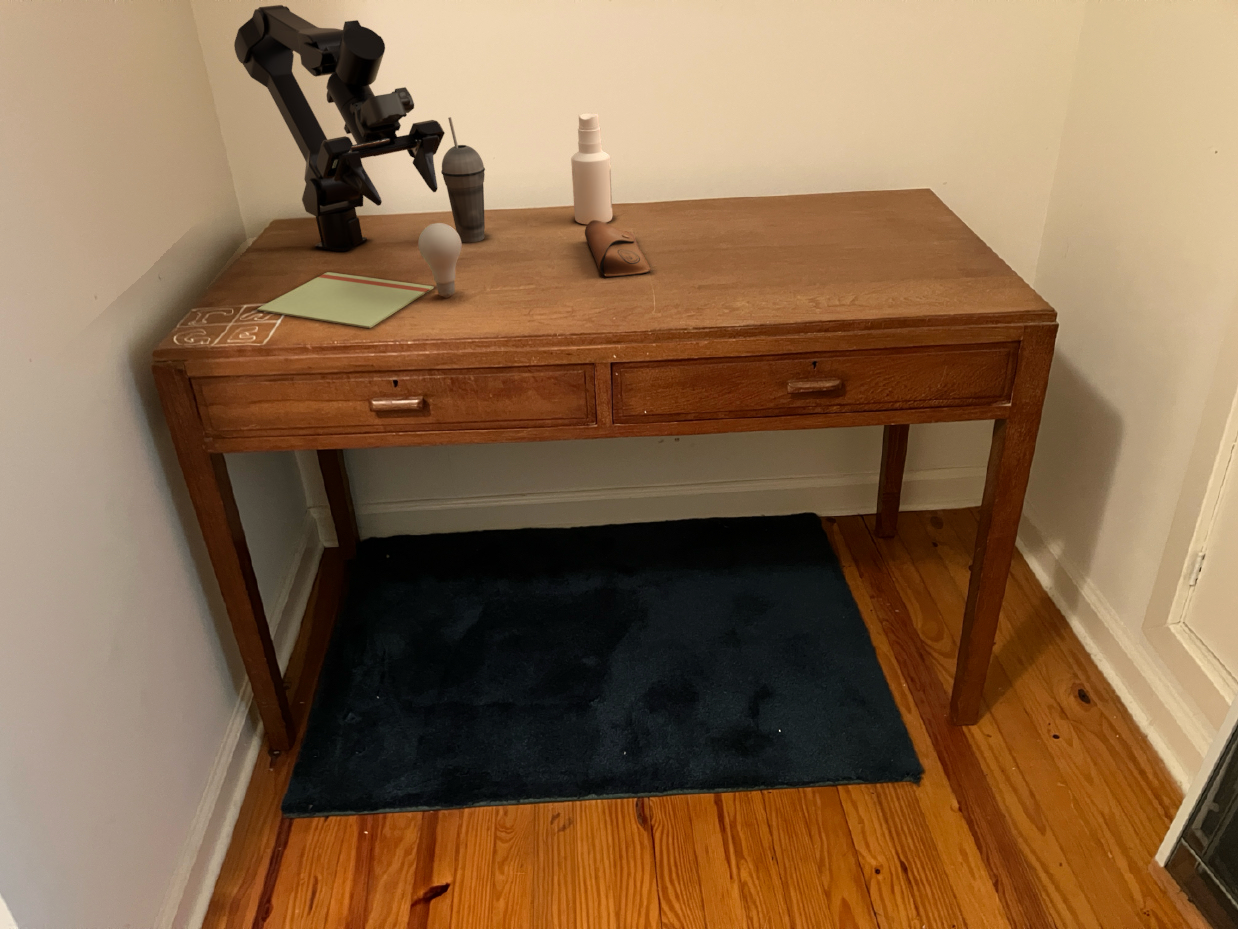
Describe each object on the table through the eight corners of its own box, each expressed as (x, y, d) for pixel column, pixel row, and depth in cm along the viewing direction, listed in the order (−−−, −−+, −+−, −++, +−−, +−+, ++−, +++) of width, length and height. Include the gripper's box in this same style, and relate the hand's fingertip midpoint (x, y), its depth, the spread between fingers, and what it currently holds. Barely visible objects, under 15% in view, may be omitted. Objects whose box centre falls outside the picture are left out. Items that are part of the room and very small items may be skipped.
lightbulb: (428, 290, 138) (417, 218, 132) (469, 288, 138) (460, 216, 132) (424, 306, 132) (413, 231, 127) (466, 303, 133) (457, 229, 127)
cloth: (257, 310, 133) (257, 308, 133) (328, 273, 146) (327, 271, 145) (369, 328, 126) (369, 326, 126) (433, 288, 139) (433, 286, 138)
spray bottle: (617, 215, 167) (614, 111, 157) (605, 226, 161) (600, 119, 152) (582, 212, 169) (577, 110, 159) (569, 223, 163) (562, 118, 154)
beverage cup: (484, 245, 155) (470, 122, 144) (444, 244, 156) (427, 121, 145) (498, 232, 161) (485, 112, 150) (458, 230, 162) (443, 112, 151)
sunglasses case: (654, 269, 140) (631, 235, 137) (616, 295, 142) (593, 261, 138) (633, 234, 155) (612, 202, 152) (599, 257, 157) (577, 226, 153)
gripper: (307, 79, 122) (361, 176, 121) (428, 61, 133) (479, 151, 131) (296, 131, 132) (345, 223, 130) (410, 111, 142) (457, 195, 141)
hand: (408, 196), depth 133 cm, fingers open, 9 cm apart
